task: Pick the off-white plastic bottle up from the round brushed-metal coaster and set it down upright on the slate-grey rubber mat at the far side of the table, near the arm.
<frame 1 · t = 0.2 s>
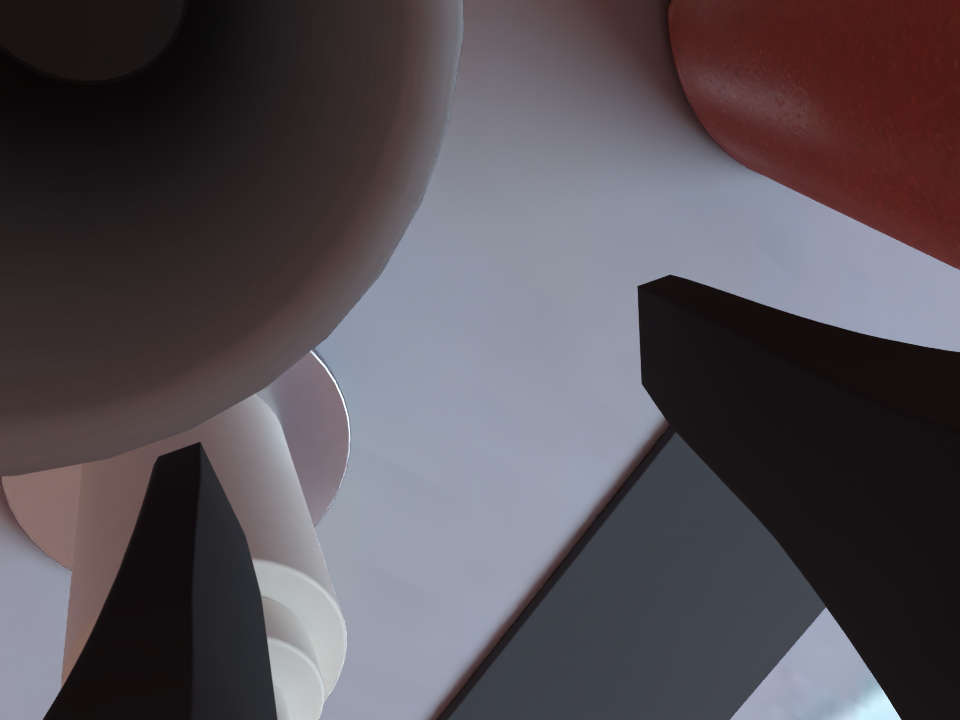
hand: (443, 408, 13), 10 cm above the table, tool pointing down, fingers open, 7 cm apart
mat: (665, 630, 34), on the table
bottle: (188, 459, 22), point 1 cm above the table, touching coaster
coaster: (187, 448, 23), on the table
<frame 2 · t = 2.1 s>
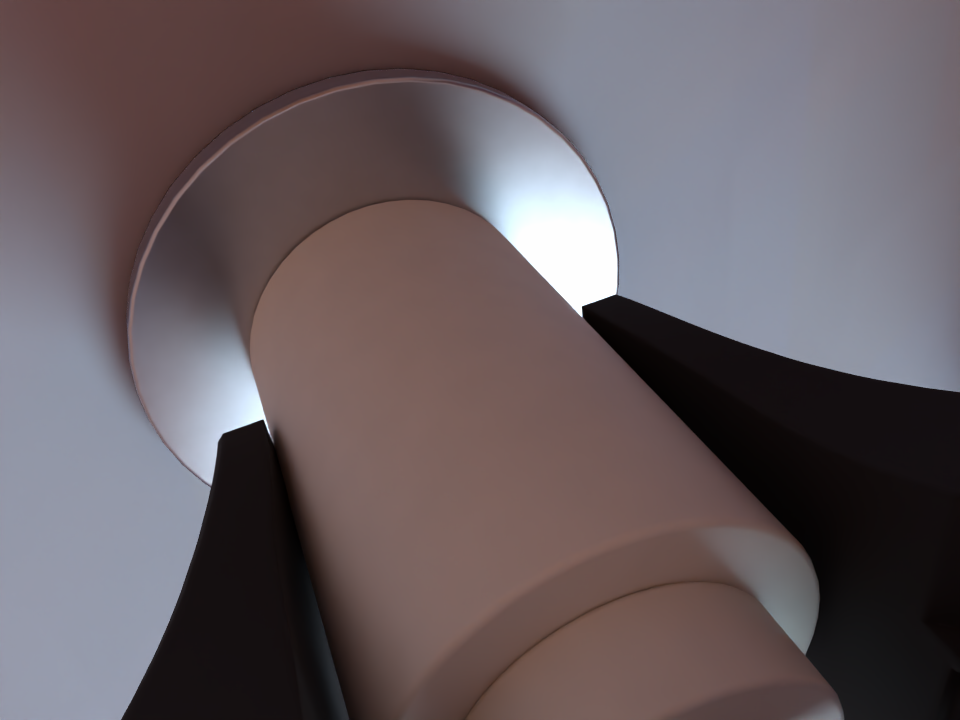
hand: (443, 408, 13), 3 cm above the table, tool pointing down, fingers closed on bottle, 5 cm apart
bottle: (397, 335, 15), point 1 cm above the table, touching coaster, gripper
coaster: (390, 318, 15), on the table
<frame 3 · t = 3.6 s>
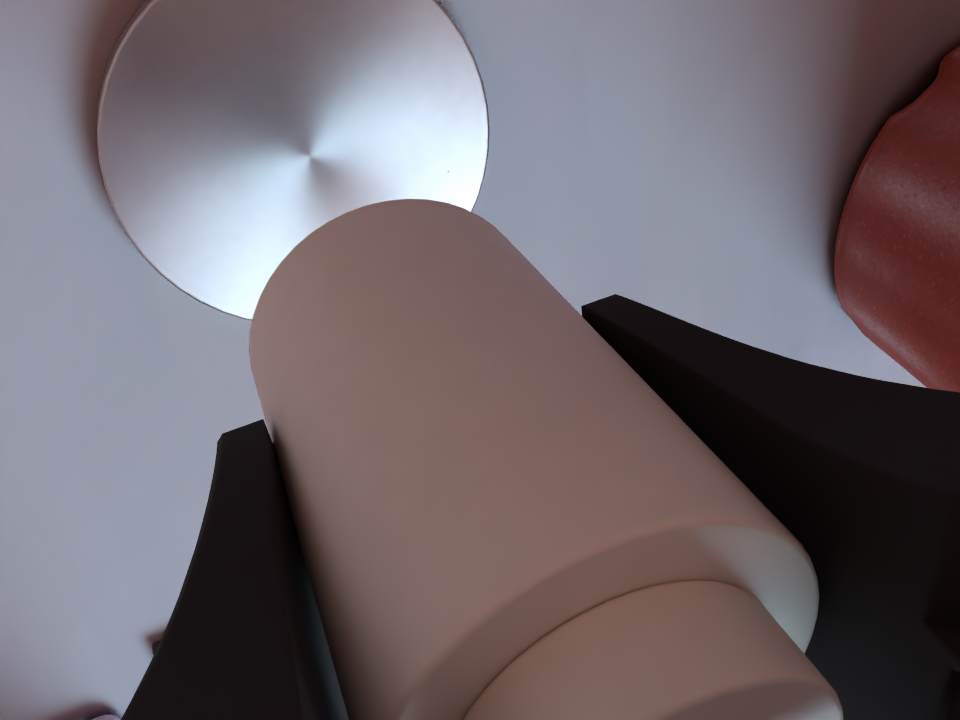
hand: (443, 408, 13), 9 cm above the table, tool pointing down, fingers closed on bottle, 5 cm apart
bottle: (396, 334, 15), point 7 cm above the table, touching gripper
coaster: (305, 148, 20), on the table
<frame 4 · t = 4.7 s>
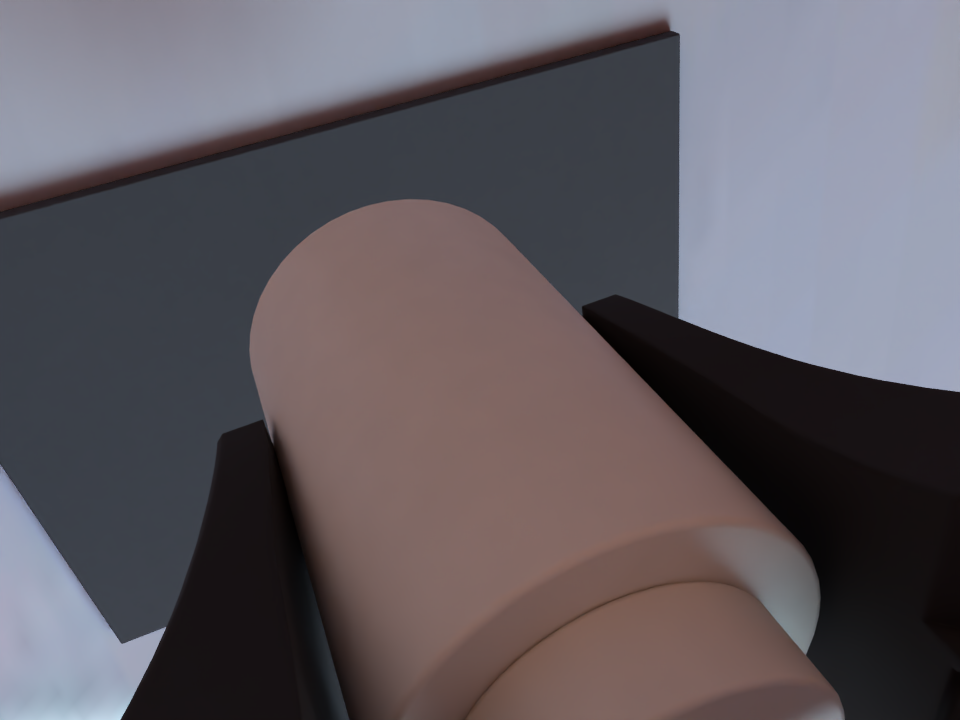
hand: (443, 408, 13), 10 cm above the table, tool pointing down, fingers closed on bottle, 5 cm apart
mat: (373, 357, 24), on the table
bottle: (397, 334, 15), point 8 cm above the table, touching gripper
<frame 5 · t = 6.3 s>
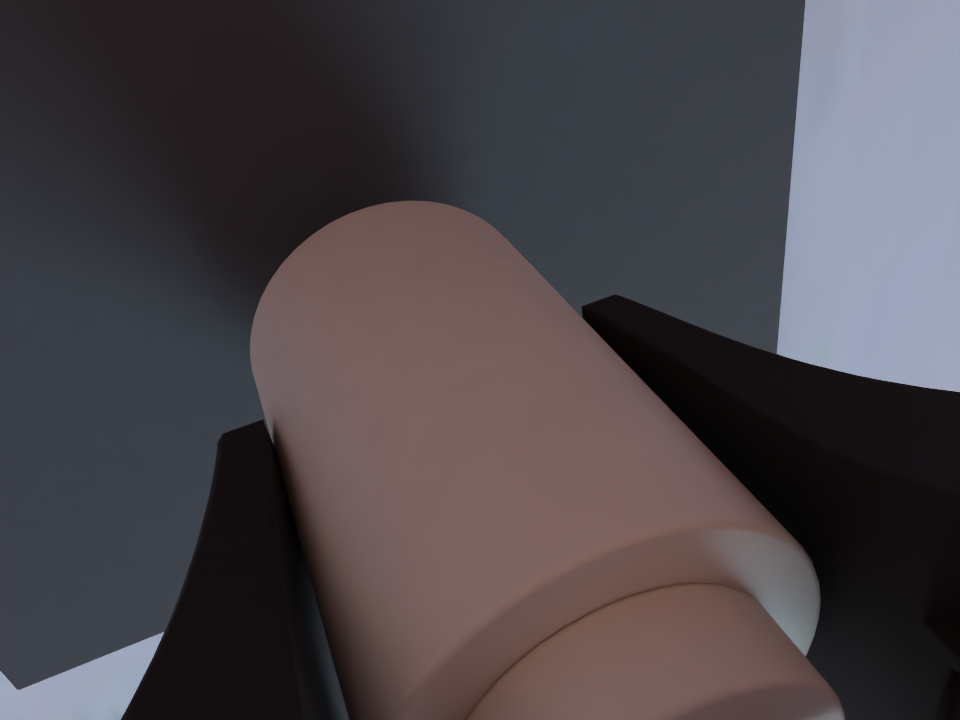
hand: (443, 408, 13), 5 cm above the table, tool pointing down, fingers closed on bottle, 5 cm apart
mat: (365, 277, 17), on the table
bottle: (397, 336, 15), point 2 cm above the table, touching gripper
when the fingers open (3 cm above the table, at t = 7.4 s): bottle stays where it is, resting on mat.
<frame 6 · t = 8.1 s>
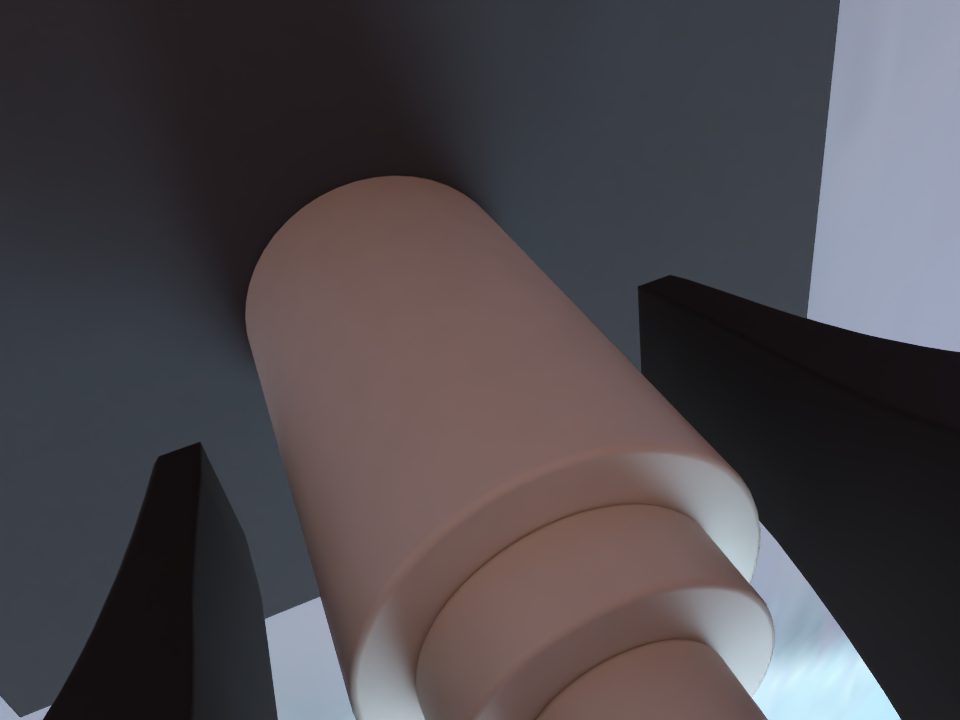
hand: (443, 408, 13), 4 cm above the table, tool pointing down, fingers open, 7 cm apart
mat: (380, 294, 16), on the table
bottle: (385, 305, 16), resting on mat
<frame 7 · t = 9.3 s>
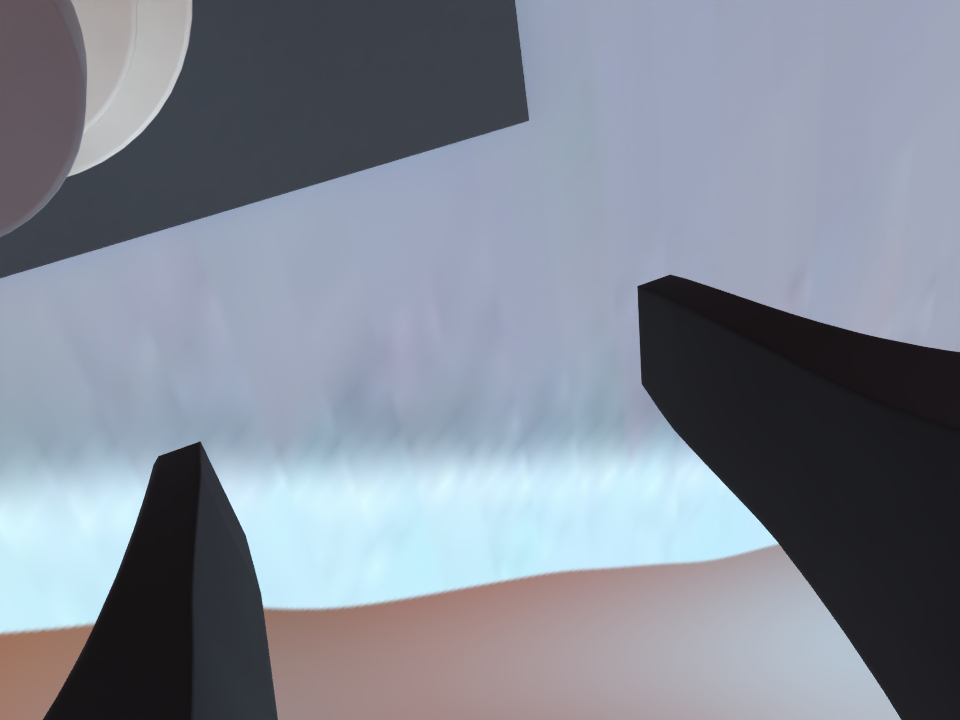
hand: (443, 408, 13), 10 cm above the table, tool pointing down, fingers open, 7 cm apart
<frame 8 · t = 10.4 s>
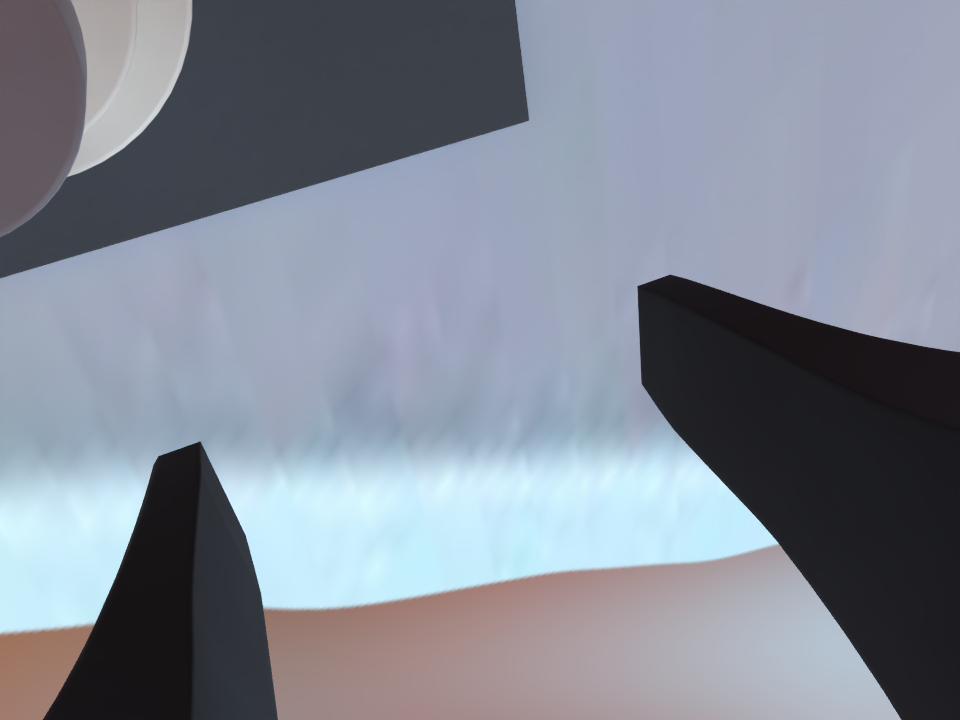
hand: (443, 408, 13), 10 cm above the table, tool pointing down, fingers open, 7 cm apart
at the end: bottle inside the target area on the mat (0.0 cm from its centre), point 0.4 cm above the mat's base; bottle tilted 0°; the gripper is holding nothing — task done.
